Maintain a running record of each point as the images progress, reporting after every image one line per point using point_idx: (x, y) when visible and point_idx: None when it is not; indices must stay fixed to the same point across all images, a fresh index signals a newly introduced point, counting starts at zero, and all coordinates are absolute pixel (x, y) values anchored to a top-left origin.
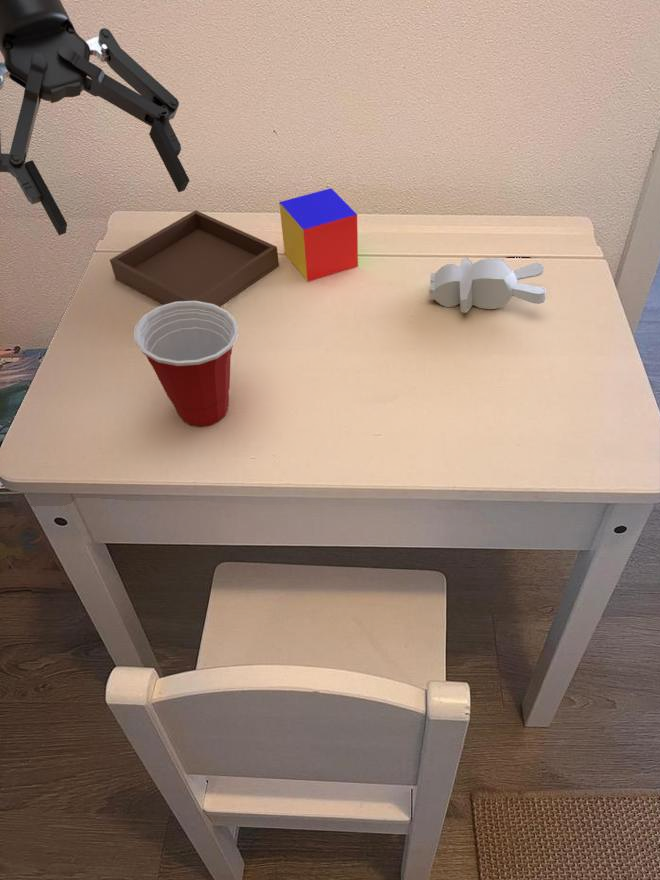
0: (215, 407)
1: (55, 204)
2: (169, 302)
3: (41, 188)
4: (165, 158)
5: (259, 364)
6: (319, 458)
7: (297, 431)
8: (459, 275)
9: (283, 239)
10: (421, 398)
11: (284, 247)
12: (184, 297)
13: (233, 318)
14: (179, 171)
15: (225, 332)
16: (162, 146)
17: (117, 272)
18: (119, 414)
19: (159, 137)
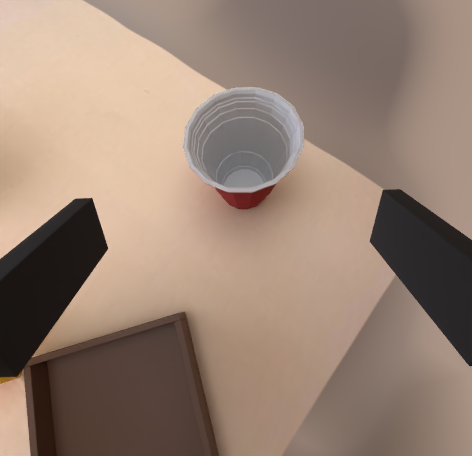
0: (241, 155)
1: (411, 209)
2: (193, 357)
3: (458, 233)
4: (63, 273)
5: (170, 212)
6: (196, 96)
7: None
8: None
9: (2, 381)
10: (91, 102)
11: (12, 377)
12: (180, 330)
13: (185, 133)
14: (74, 210)
15: (198, 149)
16: (38, 273)
17: None
18: (311, 227)
19: (17, 276)
